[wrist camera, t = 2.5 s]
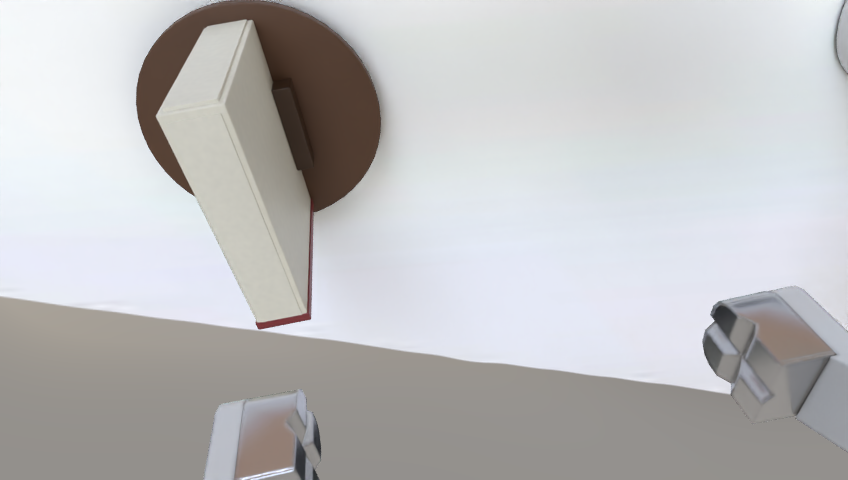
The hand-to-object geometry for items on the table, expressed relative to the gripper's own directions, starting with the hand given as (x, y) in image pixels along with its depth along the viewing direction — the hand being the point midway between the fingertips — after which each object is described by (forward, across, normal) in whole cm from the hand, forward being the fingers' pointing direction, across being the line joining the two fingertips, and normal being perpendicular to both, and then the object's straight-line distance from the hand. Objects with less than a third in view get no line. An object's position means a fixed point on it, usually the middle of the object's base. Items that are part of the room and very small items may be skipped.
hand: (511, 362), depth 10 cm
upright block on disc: (+29, +9, +7) cm, 31 cm away
